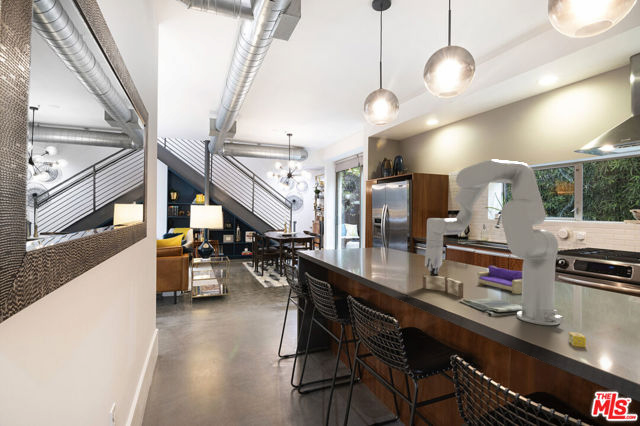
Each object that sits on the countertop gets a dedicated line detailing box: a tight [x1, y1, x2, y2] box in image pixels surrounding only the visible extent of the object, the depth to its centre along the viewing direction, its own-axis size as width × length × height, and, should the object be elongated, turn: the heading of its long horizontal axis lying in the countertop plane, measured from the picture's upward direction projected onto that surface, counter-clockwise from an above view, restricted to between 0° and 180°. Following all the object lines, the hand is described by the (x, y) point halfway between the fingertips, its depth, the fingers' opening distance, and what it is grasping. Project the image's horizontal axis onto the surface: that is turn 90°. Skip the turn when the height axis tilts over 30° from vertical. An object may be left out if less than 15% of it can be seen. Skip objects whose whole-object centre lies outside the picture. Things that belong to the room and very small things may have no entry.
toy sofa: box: [476, 265, 522, 295], centre depth 158 cm, size 21×9×10 cm, turn 22°
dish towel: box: [457, 297, 522, 318], centre depth 128 cm, size 19×18×3 cm
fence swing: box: [422, 274, 446, 292], centre depth 154 cm, size 10×2×6 cm, turn 56°
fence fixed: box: [444, 276, 464, 299], centre depth 145 cm, size 12×2×7 cm, turn 12°
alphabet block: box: [567, 331, 587, 348], centre depth 93 cm, size 3×3×3 cm
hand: (434, 281), depth 157 cm, fingers closed
